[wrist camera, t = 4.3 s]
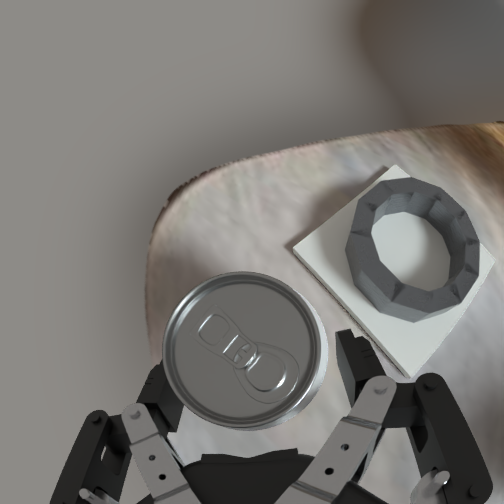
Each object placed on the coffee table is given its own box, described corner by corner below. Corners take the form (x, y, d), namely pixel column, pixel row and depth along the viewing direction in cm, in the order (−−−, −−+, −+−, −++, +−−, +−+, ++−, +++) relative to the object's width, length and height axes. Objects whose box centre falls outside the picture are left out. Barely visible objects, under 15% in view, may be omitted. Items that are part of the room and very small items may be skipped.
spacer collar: (398, 180, 23) (406, 159, 21) (480, 258, 19) (496, 243, 16) (318, 248, 22) (320, 230, 19) (413, 350, 17) (429, 344, 14)
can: (278, 422, 18) (249, 474, 7) (212, 369, 20) (122, 354, 9) (332, 354, 19) (371, 326, 9) (265, 306, 22) (227, 230, 11)
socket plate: (393, 170, 25) (395, 164, 24) (490, 264, 19) (495, 259, 18) (293, 252, 23) (292, 247, 22) (406, 378, 17) (411, 377, 16)
